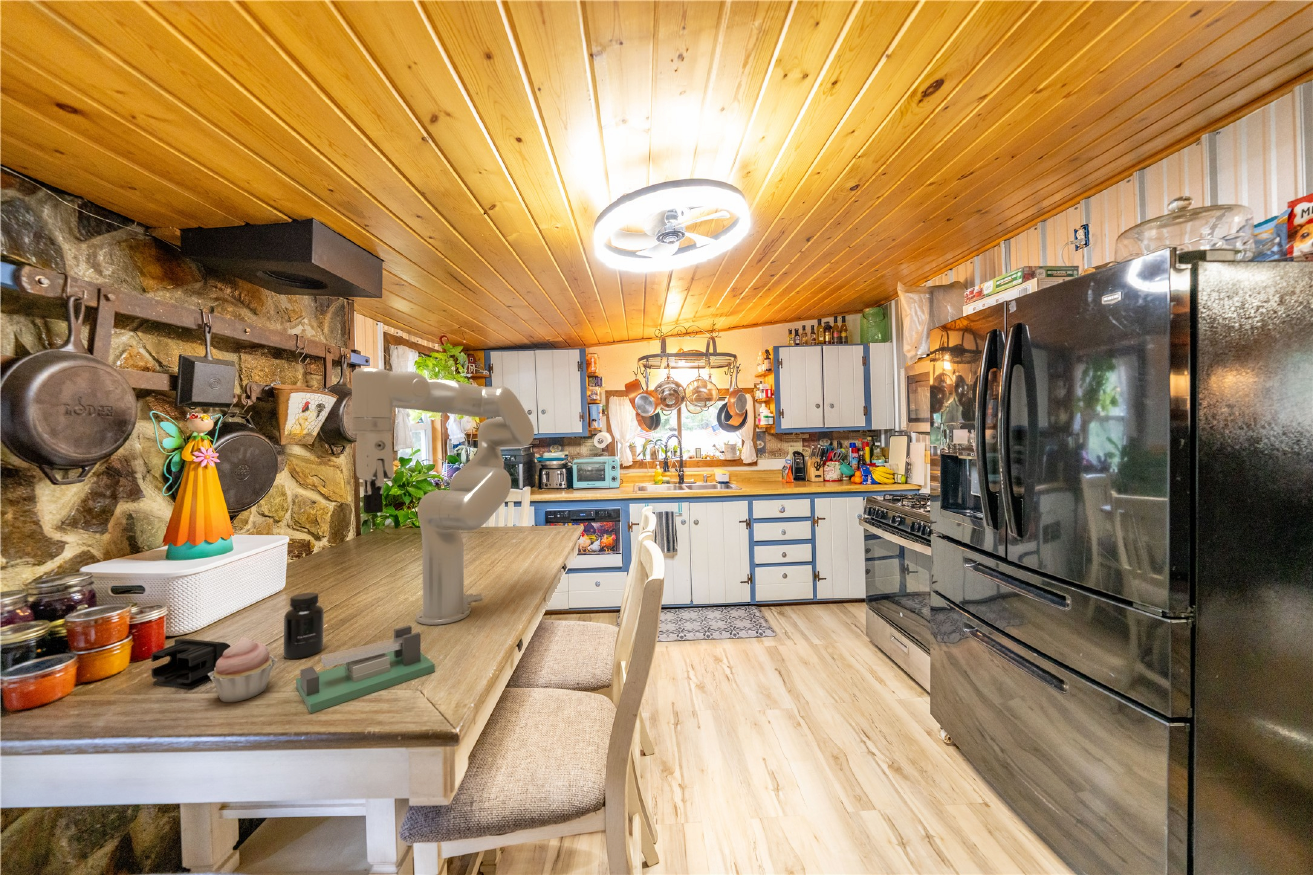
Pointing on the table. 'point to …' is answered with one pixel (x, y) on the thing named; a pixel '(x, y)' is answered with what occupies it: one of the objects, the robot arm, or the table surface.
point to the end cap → (187, 663)
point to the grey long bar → (361, 652)
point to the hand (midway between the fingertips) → (373, 512)
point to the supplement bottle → (303, 626)
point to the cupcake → (242, 671)
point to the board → (365, 674)
